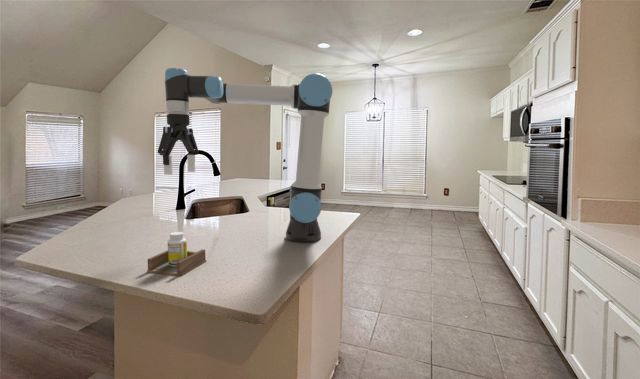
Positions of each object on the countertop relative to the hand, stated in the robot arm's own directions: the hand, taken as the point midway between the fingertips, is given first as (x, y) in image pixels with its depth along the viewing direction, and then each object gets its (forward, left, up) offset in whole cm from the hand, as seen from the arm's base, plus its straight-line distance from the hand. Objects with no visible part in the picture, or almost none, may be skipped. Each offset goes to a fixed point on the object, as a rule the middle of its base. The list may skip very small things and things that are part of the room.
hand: (180, 173), depth 121 cm
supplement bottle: (-11, +17, -28) cm, 34 cm away
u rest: (-10, +17, -29) cm, 35 cm away
